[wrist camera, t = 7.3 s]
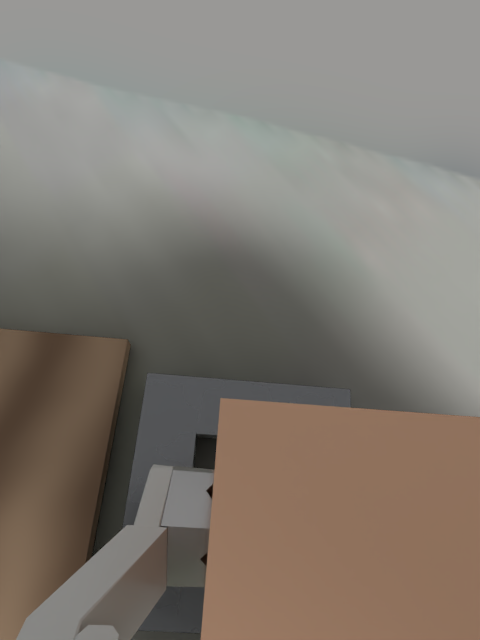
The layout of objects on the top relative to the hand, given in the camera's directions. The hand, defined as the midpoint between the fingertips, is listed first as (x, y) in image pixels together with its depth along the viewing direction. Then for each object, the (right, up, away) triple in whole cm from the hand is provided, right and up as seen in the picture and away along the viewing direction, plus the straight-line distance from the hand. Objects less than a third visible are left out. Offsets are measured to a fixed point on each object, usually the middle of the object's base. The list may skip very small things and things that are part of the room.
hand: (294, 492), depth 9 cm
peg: (0, -3, +5) cm, 5 cm away
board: (-14, -4, +11) cm, 19 cm away
